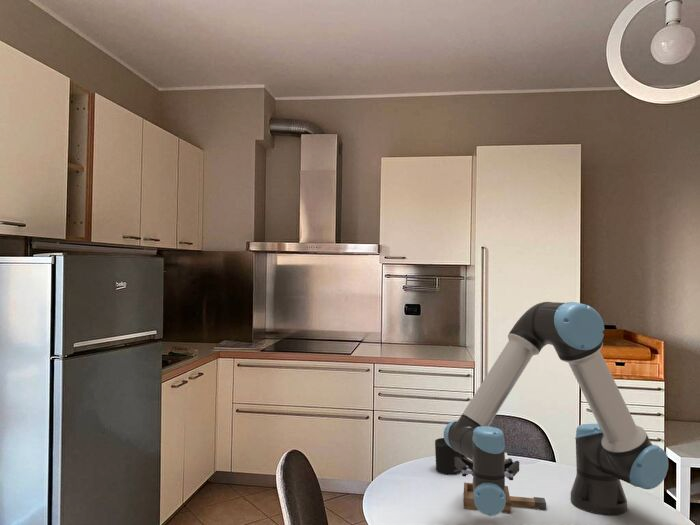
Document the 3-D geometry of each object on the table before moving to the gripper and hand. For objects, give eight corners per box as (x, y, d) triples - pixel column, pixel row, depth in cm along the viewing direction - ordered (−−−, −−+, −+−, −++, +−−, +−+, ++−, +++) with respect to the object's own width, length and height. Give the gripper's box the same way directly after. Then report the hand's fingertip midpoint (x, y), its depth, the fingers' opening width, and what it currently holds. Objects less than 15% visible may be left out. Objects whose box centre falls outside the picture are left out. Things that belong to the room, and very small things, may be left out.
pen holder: (436, 474, 183) (436, 444, 183) (434, 466, 192) (434, 437, 193) (464, 475, 182) (464, 445, 183) (460, 466, 191) (460, 438, 192)
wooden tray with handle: (542, 499, 162) (542, 488, 162) (548, 516, 149) (548, 505, 149) (464, 492, 167) (464, 482, 167) (463, 508, 154) (463, 497, 154)
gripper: (443, 490, 145) (446, 465, 166) (534, 498, 140) (526, 471, 161) (443, 462, 145) (446, 440, 167) (534, 469, 140) (525, 445, 161)
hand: (485, 455), depth 164 cm, fingers open, 11 cm apart
